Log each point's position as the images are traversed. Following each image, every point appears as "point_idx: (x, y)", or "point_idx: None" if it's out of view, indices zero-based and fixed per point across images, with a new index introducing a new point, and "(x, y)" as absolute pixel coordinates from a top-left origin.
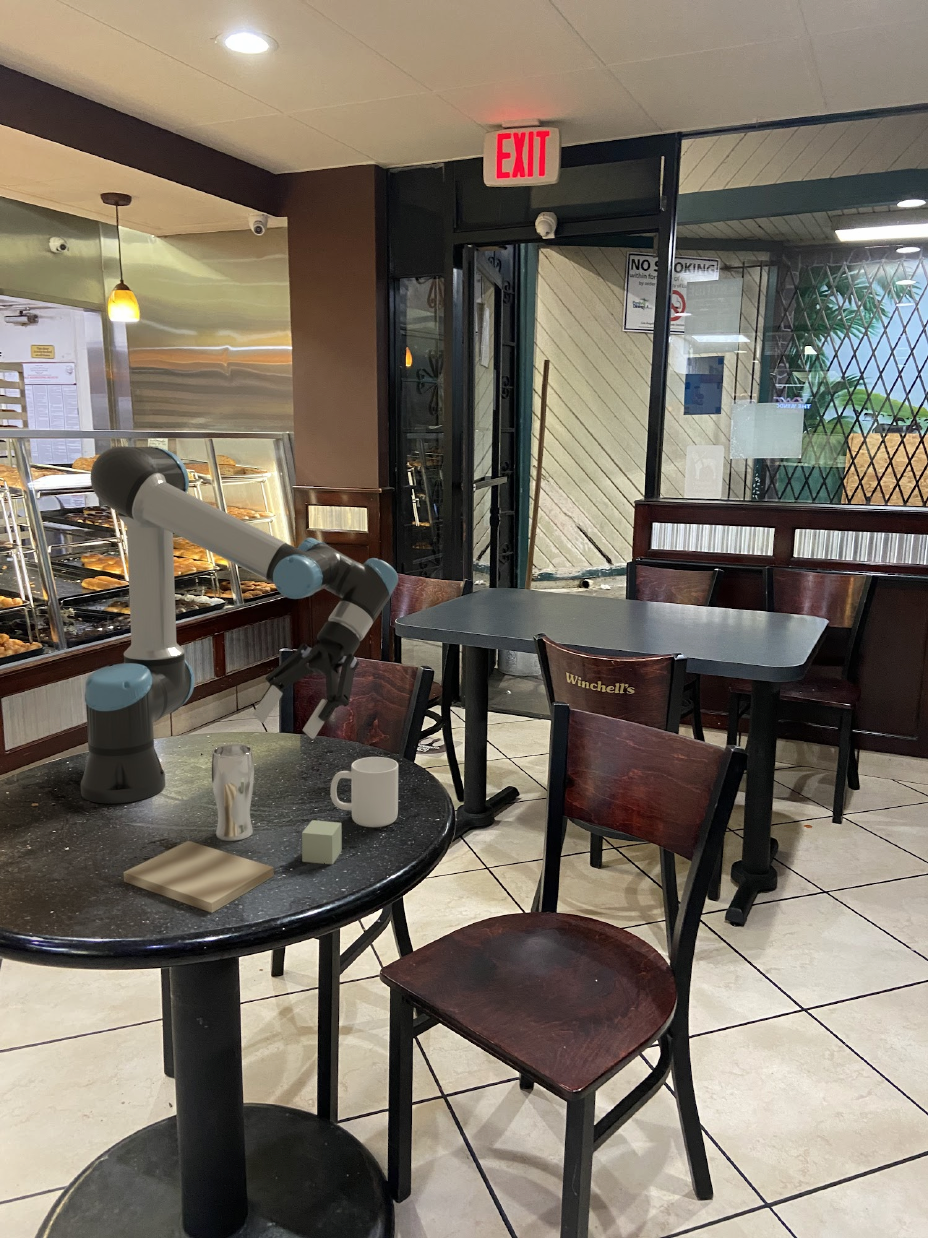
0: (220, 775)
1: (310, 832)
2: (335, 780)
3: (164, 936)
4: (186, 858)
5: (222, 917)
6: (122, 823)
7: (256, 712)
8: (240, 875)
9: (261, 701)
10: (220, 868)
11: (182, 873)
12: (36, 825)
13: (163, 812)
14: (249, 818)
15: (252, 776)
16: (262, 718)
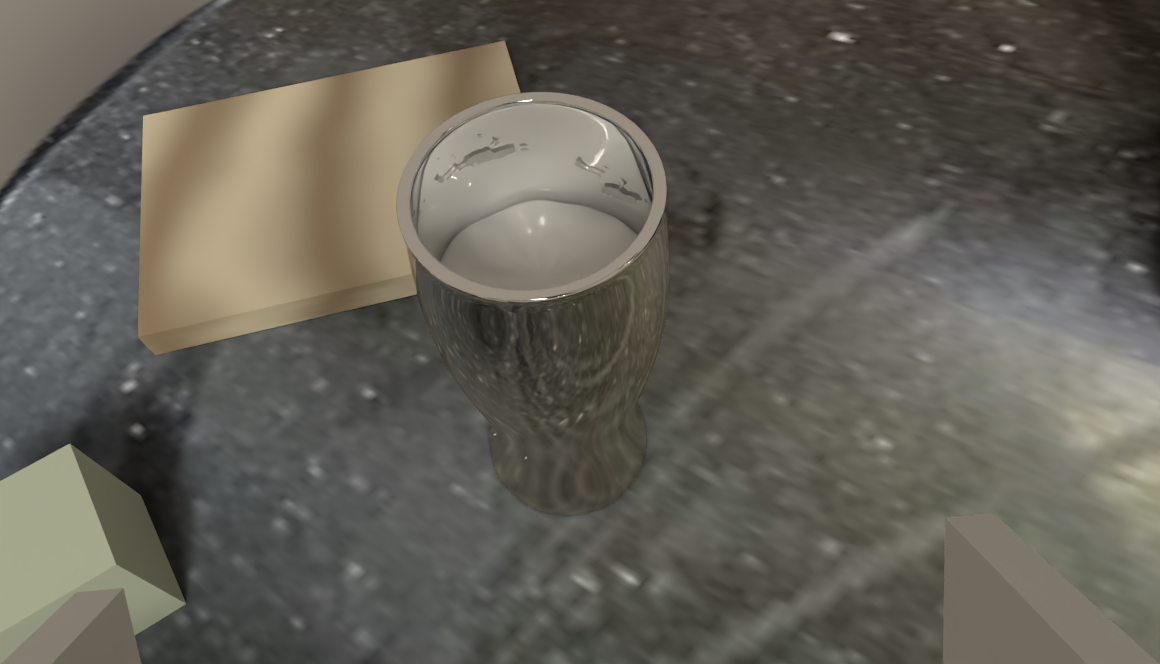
0: (500, 180)
1: (35, 472)
2: None
3: (178, 34)
4: None
5: (117, 146)
6: (952, 199)
7: (966, 534)
8: (194, 235)
9: (1097, 616)
10: (289, 217)
11: (362, 134)
12: (1091, 28)
13: (981, 342)
14: (506, 455)
15: (438, 350)
16: (958, 643)
